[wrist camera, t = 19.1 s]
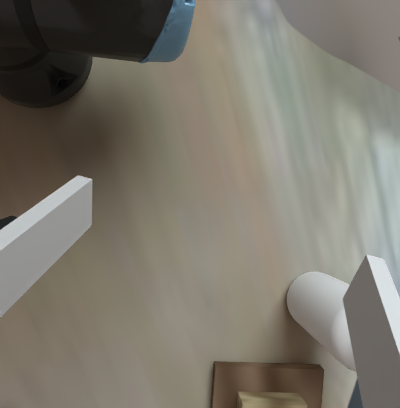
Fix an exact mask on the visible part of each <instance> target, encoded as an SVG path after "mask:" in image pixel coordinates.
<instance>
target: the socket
mask: <svg viewBox="0 0 400 408" xmlns="http://www.w3.org/2000/svg"><path fill="white" fill-rule="evenodd" d="M323 375H324V369H323V368H322V367H321V366H320V365H315V364H282V363H250V362H217V361H214V371H213V384H212V398H211V408H321V403H322V389H323Z"/></svg>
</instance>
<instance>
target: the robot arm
mask: <svg viewBox="0 0 400 408" xmlns="http://www.w3.org/2000/svg"><path fill="white" fill-rule="evenodd" d="M194 8H195V0H0V95H2V96H3V97H5V98H6V99H8V100H10V101H12V102H14V103H16V104H19V105H22V106H27V107H35V108H41V107H49V106H53V105H57V104H59V103H62V102H64V101H66V100H67V99H69V98H70V97H72V96H73V95H74V94H75V93H76V92H77V91H78V90H79V89H80V88H81V87H82V86H83V84H84V83H85V81H86V79H87V77H88V75H89V72H90V69H91V64H92V57H101V58H109V59H118V60H126V61H135V62H139V63H146V62H171V61H174V60H176V59H177V58H178V57H179V56H180V55H181V54H182V52H183V50H184V48H185V45H186V42H187V39H188V35H189V32H190V27H191V23H192V18H193V13H194ZM91 226H92V179H90V178H86V177H83V176H79V175H78V176H76V177H75V178H73V179H72V180H70V181H69V182H68V183H66V184H65V185H63V186H62V187H61V188H59V189H58V190H56V191H55V192H53V193H52V194H51V195H49V196H48V197H46V198H45V199H44V200H42V201H41V202H39V203H38V204H36V205H35V206H34V207H32V208H31V209H29V210H28V211H27V212H25V213H24V214H22V215H21V216H19V217H14V216H9V217H7V218H4V219H1V220H0V318H1V317H2V316H3V315H4V314H5V313H6V312H7V311H8V310H9V308H10V307H11V306H12V305H13V304H14V303H15V302H16V301H17V300H18V299H19V298H20V297H21V296H22V295H23V294H24V293H25V292H26V291H27V290H28V289H29V288H30V287H31V286H32V285H33V284H34V283H35V282H36V281H37V280H38V279H39V278H40V277H41V276H42V275H43V274H44V273H45V272H46V271H47V270H48V269H49V268H50V267H51V266H52V265H53V264H54V263H55V262H56V261H57V260H58V259H59V258H60V257H61V256H62V255H63V254H64V253H65V252H66V251H67V250H68V249H69V248H70V247H71V246H72V245H73V244H74V243H75V242H76V241H77V240H78V239H79V238H80V237H81V236H82V235H83V234H84V233H85V232H86V231H87V230H88V229H89V228H90V227H91ZM343 304H344V309H345V315H346V320H347V325H348V330H349V335H350V341H351V346H352V351H353V356H354V361H355V367H356V372H357V377H358V382H359V387H360V392H361V397H362V403H363V408H400V298H399V295H398V293H397V290H396V288H395V285H394V283H393V280H392V278H391V275H390V273H389V270H388V268H387V265H386V263H385V260H384V259H381V258H378V257H374V256H370V255H367V254H366V256H365V258H364V260H363V261H362V263H361V265H360V267H359V269H358V271H357V273H356V275H355V276H354V278H353V280H352V282H351V284H350V286H349V288H348V289H347V291H346V293H345V295H344V297H343Z"/></svg>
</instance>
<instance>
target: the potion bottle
mask: <svg viewBox="0 0 400 408" xmlns="http://www.w3.org/2000/svg"><path fill="white" fill-rule="evenodd" d="M349 286H350V285H349V284H347V283H345V282H342V281H340V280H338V279H336V278H334V277H331V276H329V275H327V274H324V273H321V272H308V273H304V274H302V275H300V276H299V277H298V278H296V279H295V280H294V281H293V283H292V284H291V285H290V287H289V290H288V293H287V306H288V310H289V312H290V314H291V316H292V317H293V319H294V320H295V321H296V322H297V323H298V324H300V325H301V326H302V327H303V328H304V329H305V330H306V331H307V332H308V333H309V334H310V335H311V336H312V337H313V338H315V339H316V340H317V341H318V342H319V343H320V344H321V345H322V346H323V347H324V348H325V349H326V350H327V351H328V352H330V353H331V354H332V355H333V356H334V357H335V358H336V359H337V360H338V361H339V362H341V363H342V364H343V365H344V366H346V367H347V368H348V369H351V370H353V371H356V367H355V361H354V356H353V351H352V346H351V341H350V335H349V330H348V325H347V320H346V315H345V309H344V304H343V297H344V295H345V293H346V291H347V289H348V288H349Z"/></svg>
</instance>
